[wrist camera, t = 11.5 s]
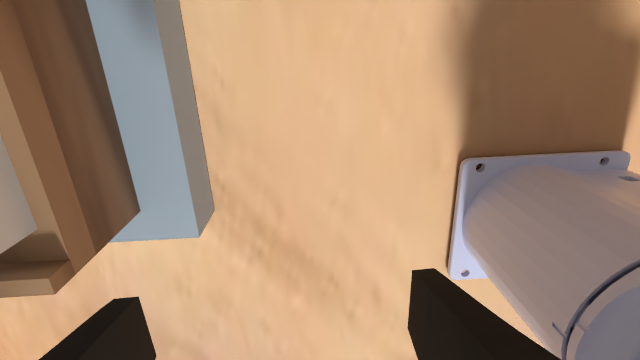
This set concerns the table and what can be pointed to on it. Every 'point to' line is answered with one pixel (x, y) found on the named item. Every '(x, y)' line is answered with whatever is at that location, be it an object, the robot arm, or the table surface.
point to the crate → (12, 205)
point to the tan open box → (59, 143)
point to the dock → (155, 115)
